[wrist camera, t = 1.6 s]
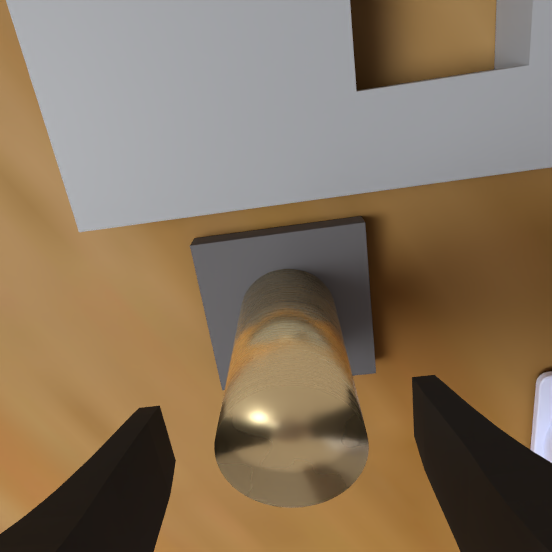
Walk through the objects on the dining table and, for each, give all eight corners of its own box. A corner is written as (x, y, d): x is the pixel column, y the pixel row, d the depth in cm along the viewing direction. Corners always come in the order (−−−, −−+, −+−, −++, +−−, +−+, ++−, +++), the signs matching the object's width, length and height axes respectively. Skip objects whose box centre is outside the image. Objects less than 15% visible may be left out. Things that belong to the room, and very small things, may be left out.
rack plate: (658, -283, 13) (747, -373, 10) (605, 145, 17) (659, 153, 15) (-3, -153, 14) (-63, -205, 12) (104, 214, 19) (76, 233, 16)
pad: (361, 216, 19) (365, 222, 18) (371, 360, 21) (376, 373, 20) (194, 238, 19) (190, 245, 18) (224, 377, 22) (222, 390, 21)
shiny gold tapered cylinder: (330, 262, 18) (363, 378, 11) (339, 347, 20) (372, 500, 12) (233, 275, 19) (200, 395, 11) (249, 358, 20) (229, 513, 13)
